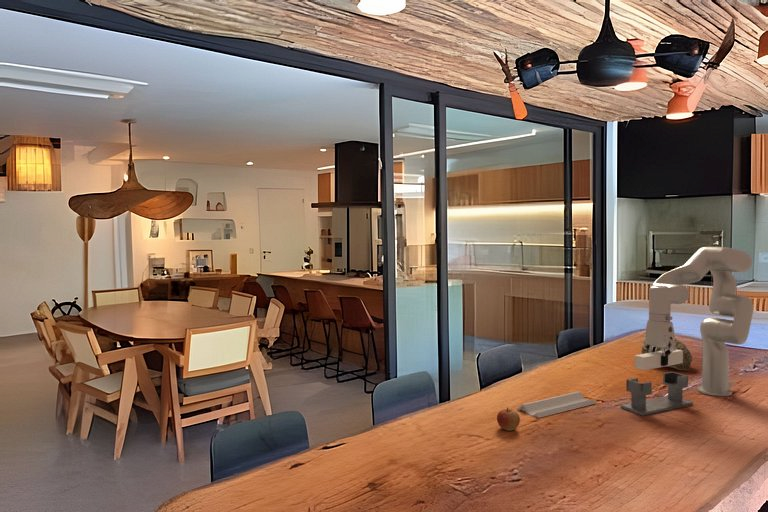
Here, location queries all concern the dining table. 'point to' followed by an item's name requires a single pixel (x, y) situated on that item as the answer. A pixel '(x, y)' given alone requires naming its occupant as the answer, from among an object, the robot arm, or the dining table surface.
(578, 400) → the crown molding
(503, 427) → the apple
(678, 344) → the coral
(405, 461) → the dining table surface
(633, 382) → the bracket stand
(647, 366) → the rail
